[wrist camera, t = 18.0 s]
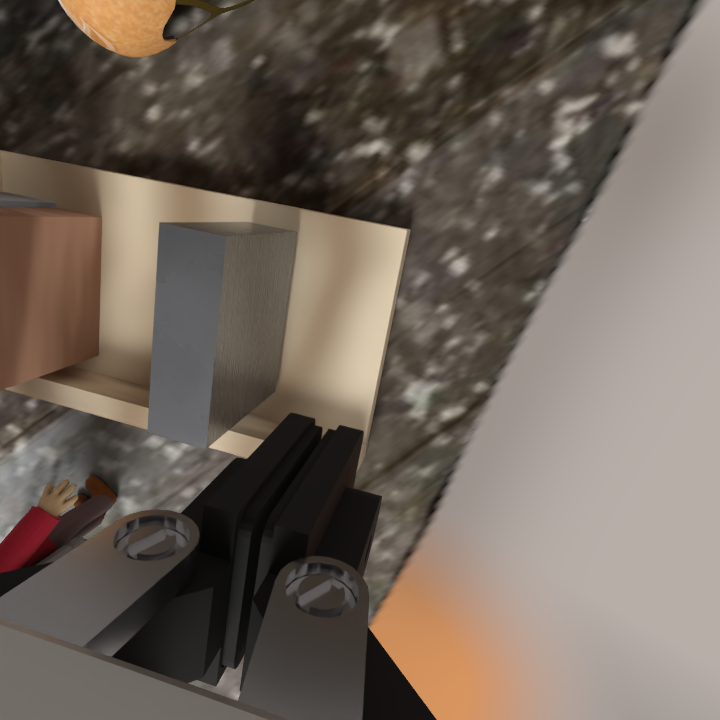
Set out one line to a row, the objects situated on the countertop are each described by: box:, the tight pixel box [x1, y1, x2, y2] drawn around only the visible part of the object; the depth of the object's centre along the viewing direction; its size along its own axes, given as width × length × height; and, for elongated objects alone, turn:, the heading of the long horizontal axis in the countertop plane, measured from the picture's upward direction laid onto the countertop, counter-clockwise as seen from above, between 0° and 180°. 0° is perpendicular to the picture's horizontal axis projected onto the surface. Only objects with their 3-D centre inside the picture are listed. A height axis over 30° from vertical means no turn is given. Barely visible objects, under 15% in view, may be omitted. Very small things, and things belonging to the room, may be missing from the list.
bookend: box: [147, 222, 297, 449], centre depth 22 cm, size 2×8×7 cm, turn 170°
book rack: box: [0, 150, 411, 473], centre depth 22 cm, size 23×12×12 cm, turn 80°
